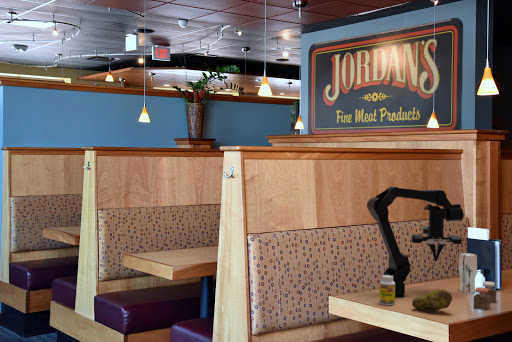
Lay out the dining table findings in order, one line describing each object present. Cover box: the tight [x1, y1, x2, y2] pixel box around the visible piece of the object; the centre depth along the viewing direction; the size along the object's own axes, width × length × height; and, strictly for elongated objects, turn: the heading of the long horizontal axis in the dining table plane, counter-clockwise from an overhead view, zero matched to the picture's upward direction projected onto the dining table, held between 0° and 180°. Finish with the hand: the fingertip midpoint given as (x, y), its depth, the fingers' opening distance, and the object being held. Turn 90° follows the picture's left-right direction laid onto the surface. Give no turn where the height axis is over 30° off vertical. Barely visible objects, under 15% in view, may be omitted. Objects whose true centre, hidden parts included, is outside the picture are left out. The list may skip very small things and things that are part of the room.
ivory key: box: [482, 281, 496, 290], centre depth 234 cm, size 4×4×5 cm
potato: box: [411, 289, 453, 312], centre depth 217 cm, size 8×13×8 cm, turn 46°
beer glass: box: [458, 252, 478, 294], centre depth 251 cm, size 7×7×15 cm
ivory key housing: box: [485, 287, 497, 304], centre depth 234 cm, size 5×5×4 cm
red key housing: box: [473, 293, 491, 311], centre depth 223 cm, size 5×5×4 cm
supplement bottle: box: [378, 274, 396, 306], centre depth 227 cm, size 6×6×10 cm
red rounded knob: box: [475, 286, 488, 297], centre depth 223 cm, size 4×4×5 cm
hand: (435, 261), depth 244 cm, fingers closed
